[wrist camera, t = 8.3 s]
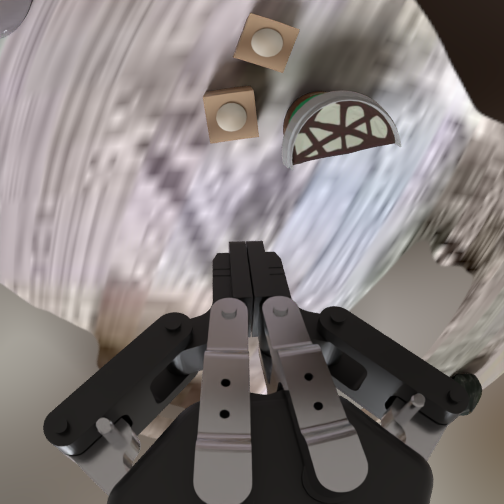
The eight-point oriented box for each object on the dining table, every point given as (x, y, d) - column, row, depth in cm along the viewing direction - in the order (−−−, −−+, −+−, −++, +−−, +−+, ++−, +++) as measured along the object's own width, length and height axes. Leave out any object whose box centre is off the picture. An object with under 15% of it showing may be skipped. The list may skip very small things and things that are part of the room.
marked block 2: (247, 18, 28) (250, 12, 24) (290, 32, 29) (300, 29, 25) (232, 57, 30) (233, 57, 26) (275, 70, 32) (283, 73, 27)
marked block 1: (205, 91, 33) (202, 97, 28) (249, 85, 33) (253, 90, 28) (212, 131, 36) (210, 144, 31) (254, 126, 36) (259, 137, 31)
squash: (460, 403, 84) (486, 415, 69) (428, 412, 83) (453, 426, 69) (466, 365, 86) (494, 373, 71) (434, 372, 85) (461, 383, 70)
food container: (359, 74, 32) (400, 86, 24) (367, 121, 36) (405, 146, 28) (259, 93, 33) (271, 108, 25) (272, 141, 37) (286, 171, 29)
